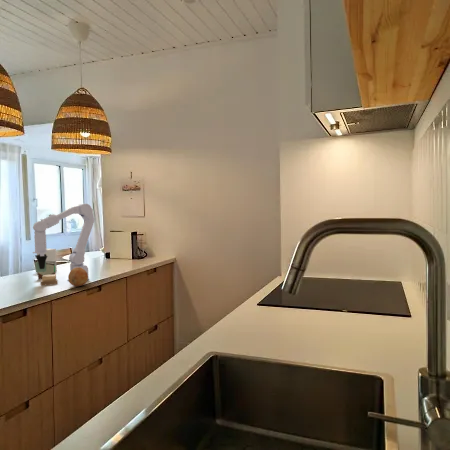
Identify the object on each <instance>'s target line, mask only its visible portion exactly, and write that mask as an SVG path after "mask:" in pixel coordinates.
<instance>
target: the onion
mask: <svg viewBox="0 0 450 450" xmlns="http://www.w3.org/2000/svg"><path fill="white" fill-rule="evenodd" d="M88 276H89V273H88V274H87V272H86V271H85V270H84V269H83V268H80V267H77V268H74V269H72V270H71V271H70V272H69V273H68V279H67V280H69V281H68V283H69V284H70V285H72V286H73V287H80V286H84V285H86V283H87V281H88Z"/></svg>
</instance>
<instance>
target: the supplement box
mask: <svg viewBox="0 0 450 450" xmlns="http://www.w3.org/2000/svg"><path fill="white" fill-rule="evenodd" d="M44 254H46V256H47V259H46V261H55V262H56V263H57V250H56V248H47V253H44ZM36 255H39V254H36ZM36 262H38V261H37V260H36ZM57 269H58V268H57V266H56V268H55V272H57Z"/></svg>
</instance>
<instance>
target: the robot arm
mask: <svg viewBox="0 0 450 450" xmlns="http://www.w3.org/2000/svg"><path fill="white" fill-rule="evenodd" d="M93 211H94V210H93V208H92V206H91V205H90V204H88V203H79V204H78V205H73V206H71V207H69V208H67V209H66V210H64V211H62V212H60V213H57V214H55V213H52V214H50V213H49V214H48V216H47V217H44V218H41V219H40V220H39V221H36V222H34V224H33V226H32V230H33V232H34V251H33V252H32V254H36V255H34V256H35V258H36V262H37V261H38V263H39V268H40V269H44V268H45V262H46V259H47V256H46V254H44V253H47V249H48V247H47V234H46V231H47V229H49V228H52V227H54V226H56V225H58V224H60V221H61V220H62V219H65V218H67V217H69V216H72V215H74V214H75V215H76V214H78V215H79V216H80V217H81V218H82V219H83V221H84V222H83V225H82V228H81V231H80V233H79V236H78V239H77V242H76V245H75V248H73V250H72V253H71V254H70V255H69V257H68V260H69V262H70V265H69V267H70V271H71V270H72V269H74V268H77V267H80V268H83V269H84V270H85V271H86V272H87V274H88V280H90V277H89V267H88V266H87V265H85V264H84V262H85V254H86V252H85V251H86V247H87V243H88V241H89V238H90V235H91V232H92V230H93V227H94V223H95V216H94V212H93ZM37 254H39V255H37ZM88 280H87V281H88ZM66 281H67V282H69V279H67V280H66Z"/></svg>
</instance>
